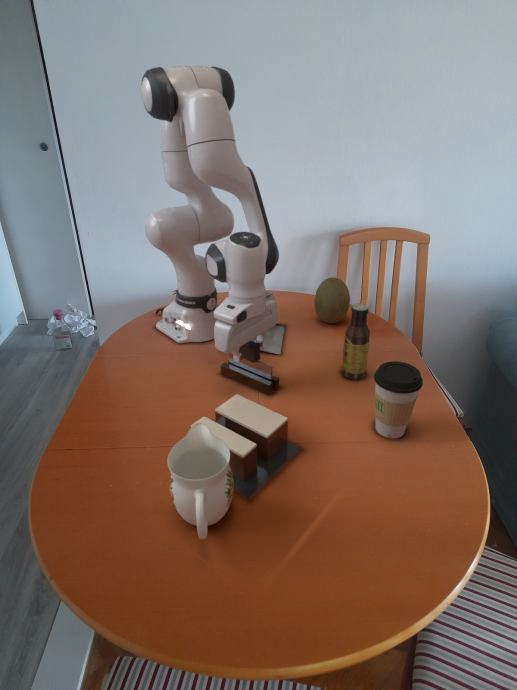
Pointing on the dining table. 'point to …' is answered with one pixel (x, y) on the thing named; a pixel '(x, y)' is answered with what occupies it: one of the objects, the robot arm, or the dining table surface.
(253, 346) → the dough scraper
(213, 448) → the pitcher
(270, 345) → the meat cleaver
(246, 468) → the cake slice
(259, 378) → the stand
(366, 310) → the sauce bottle
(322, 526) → the dining table surface
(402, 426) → the coffee cup
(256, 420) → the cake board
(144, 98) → the robot arm
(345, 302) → the fruit
